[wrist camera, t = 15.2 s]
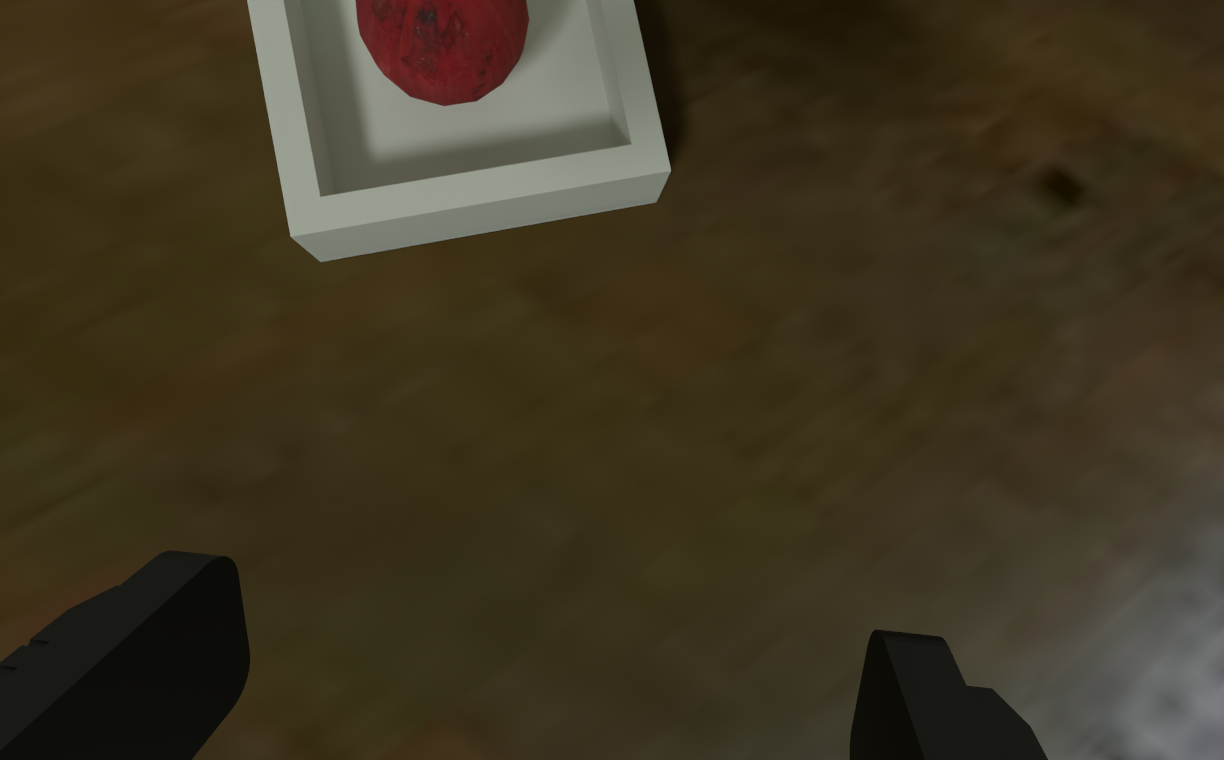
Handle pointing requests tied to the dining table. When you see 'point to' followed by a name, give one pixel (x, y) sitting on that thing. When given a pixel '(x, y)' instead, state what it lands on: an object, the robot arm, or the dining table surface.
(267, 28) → the bin
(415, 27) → the onion
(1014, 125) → the dining table surface
